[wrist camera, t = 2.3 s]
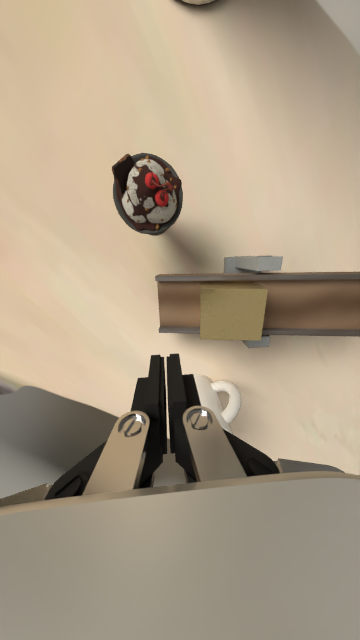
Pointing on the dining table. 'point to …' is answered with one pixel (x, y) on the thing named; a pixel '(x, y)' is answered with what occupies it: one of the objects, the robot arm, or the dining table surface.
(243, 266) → the pivot stand
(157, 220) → the sundae
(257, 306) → the block
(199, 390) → the mug
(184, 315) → the beam
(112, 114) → the dining table surface
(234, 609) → the robot arm
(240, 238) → the dining table surface
